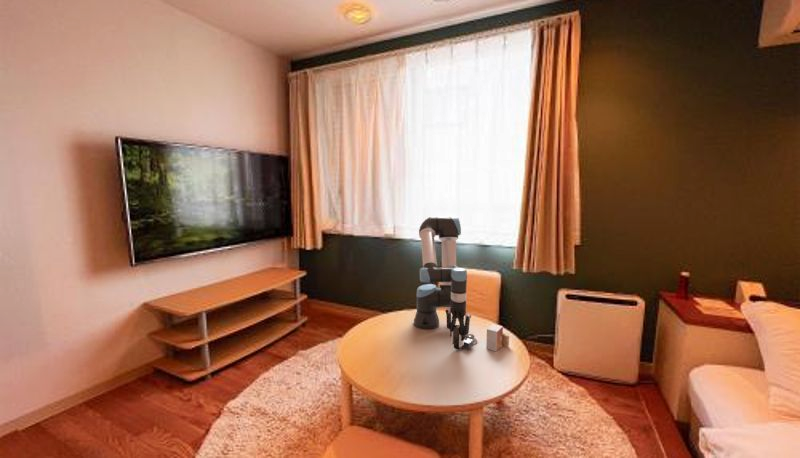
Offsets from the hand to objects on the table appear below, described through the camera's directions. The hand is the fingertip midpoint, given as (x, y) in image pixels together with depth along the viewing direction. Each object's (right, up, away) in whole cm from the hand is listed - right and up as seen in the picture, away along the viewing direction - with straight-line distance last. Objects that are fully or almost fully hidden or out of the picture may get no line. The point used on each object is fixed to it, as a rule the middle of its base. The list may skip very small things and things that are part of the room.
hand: (457, 344), depth 164 cm
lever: (+5, -2, +5) cm, 8 cm away
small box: (+20, -3, +5) cm, 21 cm away
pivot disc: (+8, -2, +11) cm, 14 cm away
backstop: (+24, -2, +8) cm, 26 cm away
